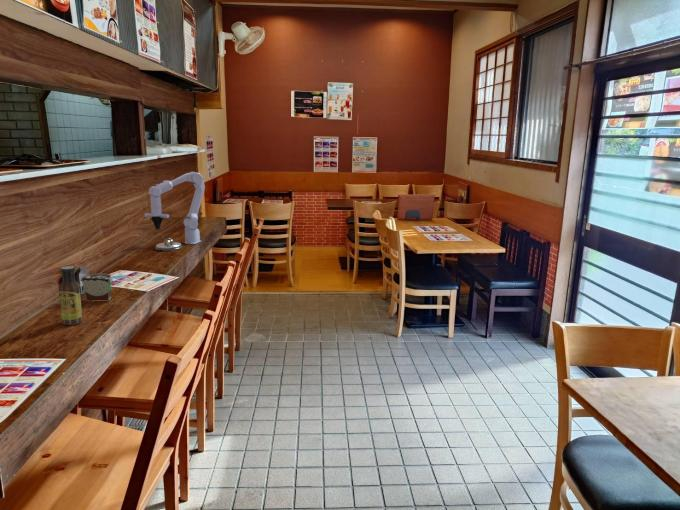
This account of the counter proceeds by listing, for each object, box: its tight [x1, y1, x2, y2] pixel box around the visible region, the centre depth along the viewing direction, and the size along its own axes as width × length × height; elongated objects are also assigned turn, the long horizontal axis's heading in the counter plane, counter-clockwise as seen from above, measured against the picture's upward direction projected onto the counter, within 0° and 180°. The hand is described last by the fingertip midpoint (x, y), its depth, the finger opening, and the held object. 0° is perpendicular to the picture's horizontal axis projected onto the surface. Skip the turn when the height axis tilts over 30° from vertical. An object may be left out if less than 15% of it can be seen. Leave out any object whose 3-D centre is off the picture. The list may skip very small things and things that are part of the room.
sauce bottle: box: [58, 265, 83, 326], centre depth 163 cm, size 6×6×20 cm
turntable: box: [155, 240, 182, 249], centre depth 282 cm, size 14×14×5 cm
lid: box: [163, 237, 174, 245], centre depth 282 cm, size 5×5×4 cm
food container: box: [80, 272, 114, 301], centre depth 190 cm, size 12×6×10 cm, turn 84°
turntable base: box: [154, 244, 183, 252], centre depth 283 cm, size 15×15×1 cm
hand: (157, 229), depth 286 cm, fingers closed
